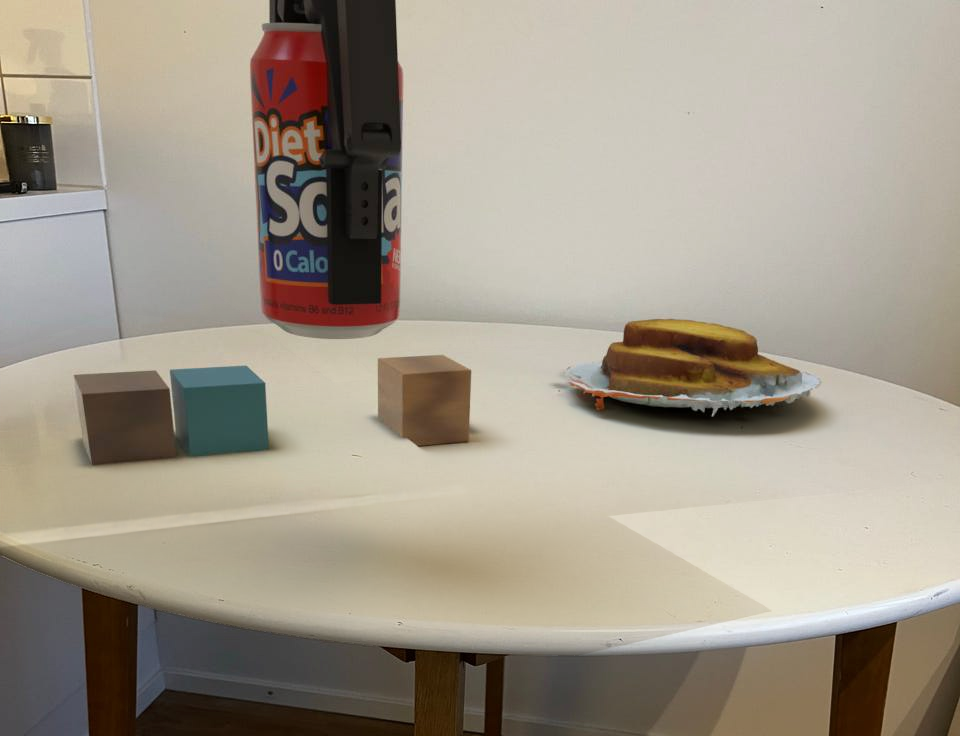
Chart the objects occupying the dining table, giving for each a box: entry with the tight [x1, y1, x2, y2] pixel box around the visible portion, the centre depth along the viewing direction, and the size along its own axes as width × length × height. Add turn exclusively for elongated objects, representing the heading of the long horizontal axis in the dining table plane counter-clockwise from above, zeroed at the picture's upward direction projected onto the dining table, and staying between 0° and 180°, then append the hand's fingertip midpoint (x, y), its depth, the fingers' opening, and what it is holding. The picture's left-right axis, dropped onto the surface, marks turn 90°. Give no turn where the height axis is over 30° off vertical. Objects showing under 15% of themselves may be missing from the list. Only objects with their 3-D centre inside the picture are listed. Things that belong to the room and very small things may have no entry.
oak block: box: [377, 354, 472, 447], centre depth 85 cm, size 6×6×6 cm
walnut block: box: [73, 369, 177, 466], centre depth 76 cm, size 6×6×6 cm
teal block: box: [169, 364, 270, 457], centre depth 79 cm, size 6×6×6 cm
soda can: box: [249, 22, 404, 340], centre depth 55 cm, size 8×8×15 cm
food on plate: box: [557, 318, 822, 429], centre depth 100 cm, size 25×25×7 cm
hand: (330, 289), depth 57 cm, fingers closed on soda can, 8 cm apart
